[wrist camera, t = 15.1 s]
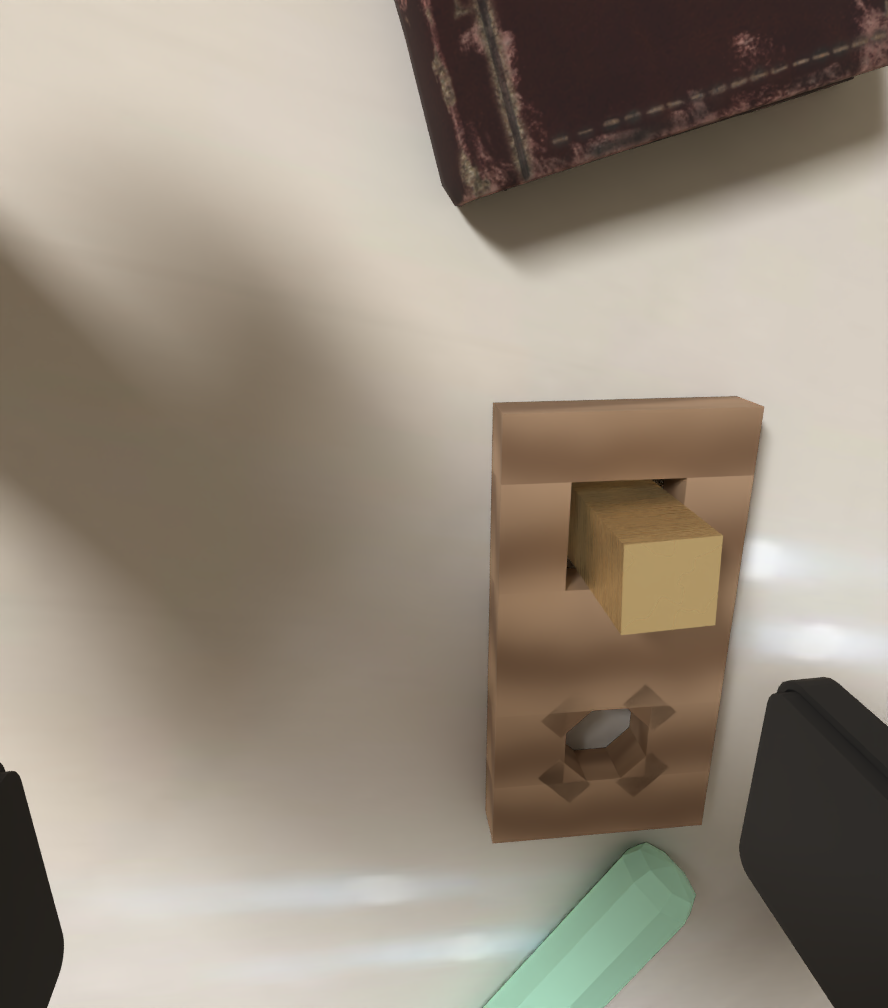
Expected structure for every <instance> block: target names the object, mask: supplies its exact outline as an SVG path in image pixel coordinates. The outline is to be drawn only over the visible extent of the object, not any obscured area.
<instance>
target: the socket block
mask: <svg viewBox="0 0 888 1008" xmlns="http://www.w3.org/2000/svg"><path fill="white" fill-rule="evenodd" d="M763 412H764V406H761V405H758V404H756V403H753V402H750V401H748V400H745V399H742V398H740V397H737V396H730V397H692V398H654V399H616V400H579V401H541V402H503V403H493V434H492V487H491V540H490V593H489V647H488V700H487V753H486V806H485V810H486V815H487V819H488V824H489V828H490V833H491V837H492V842H493V843H503V842H514V841H526V840H537V839H548V838H559V837H570V836H581V835H593V834H604V833H615V832H626V831H637V830H648V829H660V828H671V827H682V826H693V825H702V818H703V812H704V805H705V798H706V792H707V785H708V778H709V772H710V765H711V758H712V752H713V745H714V738H715V732H716V725H717V718H718V712H719V705H720V698H721V692H722V685H723V678H724V672H725V665H726V658H727V652H728V645H729V638H730V632H731V625H732V618H733V612H734V605H735V598H736V592H737V585H738V578H739V572H740V565H741V558H742V552H743V545H744V538H745V532H746V525H747V518H748V512H749V505H750V498H751V492H752V485H753V478H754V472H755V465H756V458H757V452H758V445H759V438H760V432H761V425H762V418H763ZM646 479H664V483H663V489H664V490H665V491H667V492H668V493H669V494H670V495H672V496H673V497H674V498H676V499H677V500H678V501H679V502H681V503H682V504H683V505H685V506H686V507H687V508H688V509H690V510H691V511H692V512H694V513H695V514H696V515H697V516H699V517H700V518H701V519H702V520H704V521H705V522H706V523H708V524H709V525H710V526H711V527H713V528H714V529H715V530H717V531H718V532H719V533H720V534H722V535H723V542H722V553H721V565H720V576H719V588H718V599H717V611H716V622H715V625H712V626H703V627H694V628H684V629H675V630H665V631H656V632H647V633H637V634H628V635H620V633H619V632H618V630H617V629H616V627H615V626H614V624H613V623H612V621H611V620H610V618H609V617H608V615H607V614H606V613H605V611H604V610H603V608H602V607H601V605H600V604H599V602H598V601H597V599H596V598H595V596H594V595H593V593H592V592H591V590H590V589H589V587H588V586H587V584H586V583H585V582H584V580H583V579H582V577H581V576H580V574H579V573H578V571H577V570H576V568H567V552H568V535H569V518H570V501H571V484H572V482H593V481H619V480H646ZM623 708H627V709H629V710H630V711H631V717H630V727H629V728H628V729H627V730H626V731H624V732H623V733H622V734H621V735H620V736H619V737H617V738H616V739H615V740H614V741H613V742H612V743H610V744H609V745H608V746H607V747H606V748H597V749H584V750H573V749H572V748H570V747H569V746H568V745H567V744H565V743H566V733H567V732H569V731H570V730H571V729H572V728H573V727H574V726H575V725H577V724H578V723H579V722H580V721H581V720H582V719H583V718H585V717H586V716H587V715H588V714H589V713H590V712H591V711H595V710H609V709H623Z"/></svg>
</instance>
